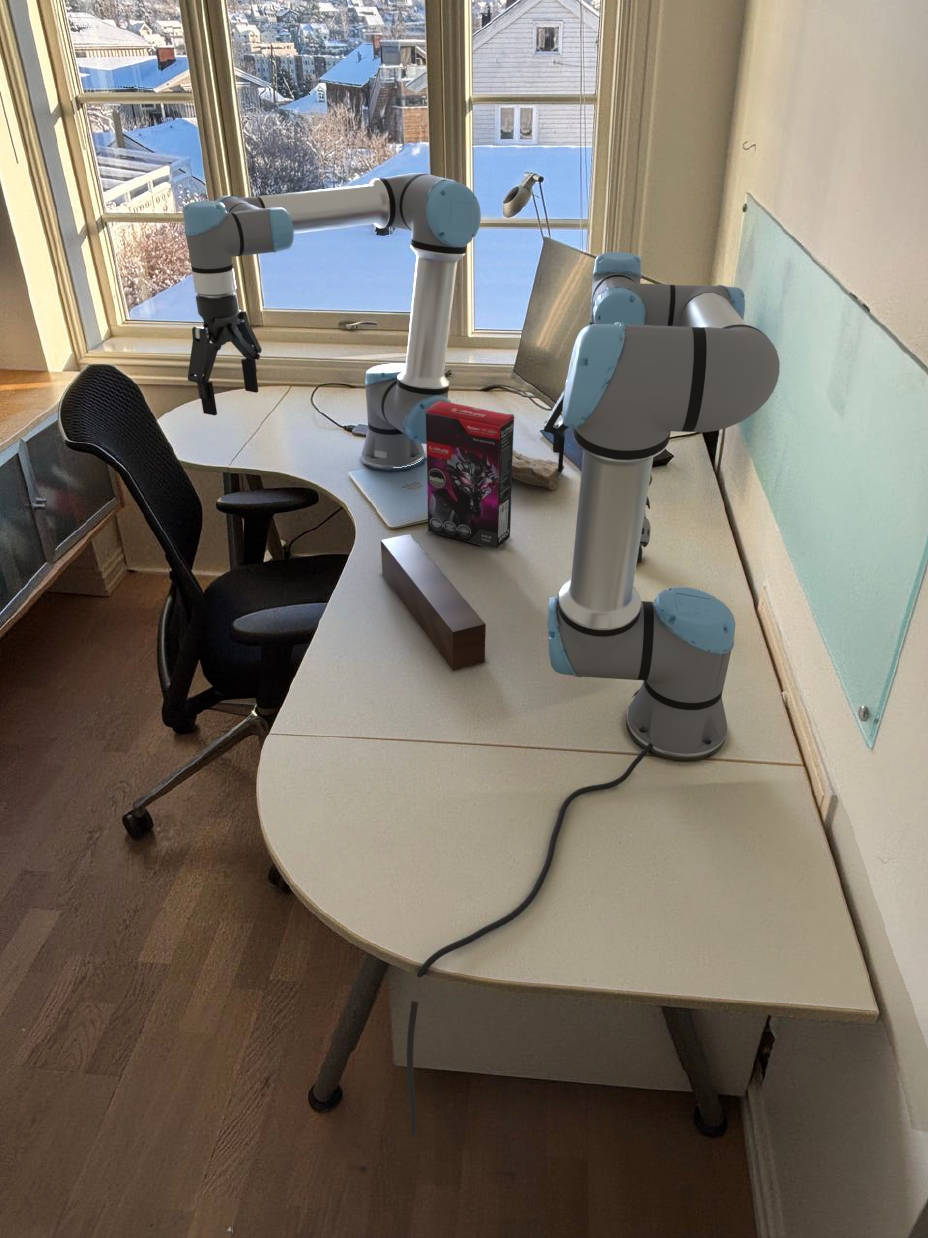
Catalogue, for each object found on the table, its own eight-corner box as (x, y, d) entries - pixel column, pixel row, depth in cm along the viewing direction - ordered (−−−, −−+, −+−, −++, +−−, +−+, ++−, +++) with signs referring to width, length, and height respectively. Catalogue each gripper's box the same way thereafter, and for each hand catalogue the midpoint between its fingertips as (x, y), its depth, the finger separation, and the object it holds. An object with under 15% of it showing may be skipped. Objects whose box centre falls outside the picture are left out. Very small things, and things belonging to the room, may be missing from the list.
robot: (652, 579, 180) (665, 486, 169) (627, 579, 180) (639, 486, 169) (631, 531, 196) (642, 443, 185) (609, 531, 196) (618, 444, 185)
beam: (484, 662, 158) (485, 623, 153) (452, 671, 155) (453, 632, 151) (410, 569, 183) (409, 533, 179) (382, 575, 181) (380, 539, 177)
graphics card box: (425, 532, 195) (422, 409, 180) (440, 519, 200) (440, 398, 185) (497, 552, 189) (501, 426, 173) (511, 537, 194) (517, 414, 179)
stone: (462, 471, 213) (468, 446, 211) (478, 460, 226) (484, 436, 224) (548, 498, 210) (555, 473, 207) (560, 485, 223) (567, 461, 221)
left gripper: (239, 275, 182) (253, 379, 194) (155, 307, 164) (175, 420, 175) (271, 279, 180) (283, 384, 192) (189, 312, 161) (207, 427, 173)
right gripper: (682, 348, 155) (666, 464, 167) (534, 343, 157) (529, 459, 169) (688, 362, 149) (670, 482, 161) (533, 356, 151) (527, 476, 162)
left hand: (231, 402), depth 184 cm, fingers open, 13 cm apart
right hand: (598, 470), depth 165 cm, fingers open, 13 cm apart
